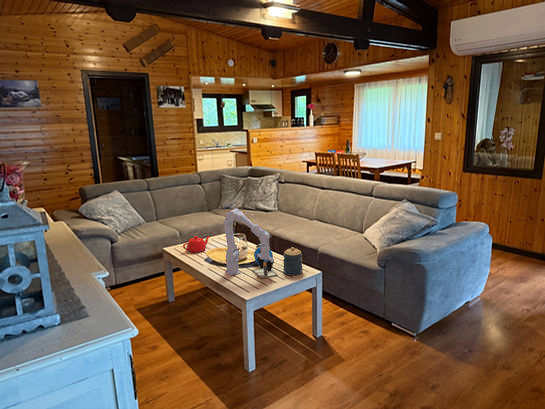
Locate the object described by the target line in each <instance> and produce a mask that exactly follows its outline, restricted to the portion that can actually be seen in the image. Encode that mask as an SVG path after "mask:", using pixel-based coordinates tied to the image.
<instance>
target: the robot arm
mask: <svg viewBox="0 0 545 409" xmlns="http://www.w3.org/2000/svg"><path fill="white" fill-rule="evenodd" d="M235 221H236V222H241V223H243V224H244V225H246V226H247V227H249V228H250V232H252V233H253V234H254V235H255V236H256V237H257V238H258V240H259V241H260V244H261V254H257V257H258V258H257V261H258V263H259V264H258V263H257V264H258V265H259V269H262V268H264V266H263V262H264V259H265V260H268V262H266V264H267V268H268V272H270V271H271V269H272V268H273V265H274V263H275V259H274V257H273V258H271V257H270V254H269V247H270V238H271V234H270V233H269V231H266V230H265V229H263V228H262V227H260V226H261V225H259V224H256V223H255V224H254V223H253V222H252V221H251V220H250V219H249V217H247V216H246V215H245V214H244V212H243V211H242V210H240V209H239V208H236V207H235V208H233V209H232V210H230V211H228V212H227V213H226V214H225V217H224V220H223V227H224V233H225V239H226V246H227V248H226V250H225V252H226V253H225V259H226V269H225V272H226V273H227V274H228V275H229V276H233V275H238V274H241V273H242V272H241V271H240V270H239V256H240V250H239V248H238V246H237V245H236V241H235V233H234V226H233V222H235Z"/></svg>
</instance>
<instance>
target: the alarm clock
mask: <svg viewBox="0 0 545 409" xmlns="http://www.w3.org/2000/svg"><path fill="white" fill-rule="evenodd" d="M257 254H261V243H257V244H256V247H255V250H254V253H253V257H254V261H255V263H257V264H258V265H259V263H258V261H257V258H258V257H257ZM269 254H270V257H271V258H273V259H274V255H273V252H272V250H271V247H270V246H269ZM264 261H267V262H268V260H265V259H264Z"/></svg>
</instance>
